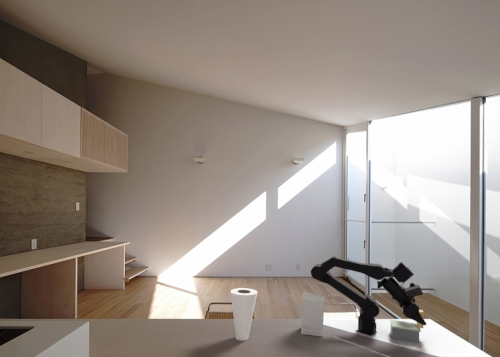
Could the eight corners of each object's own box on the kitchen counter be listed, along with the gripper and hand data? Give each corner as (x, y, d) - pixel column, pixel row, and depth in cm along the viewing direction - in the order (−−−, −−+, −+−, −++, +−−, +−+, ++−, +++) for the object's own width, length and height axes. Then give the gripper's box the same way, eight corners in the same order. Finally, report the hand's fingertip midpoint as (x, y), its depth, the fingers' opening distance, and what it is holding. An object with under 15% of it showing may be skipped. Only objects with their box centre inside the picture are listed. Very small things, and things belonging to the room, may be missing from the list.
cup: (259, 336, 140) (261, 290, 141) (248, 346, 131) (250, 296, 132) (236, 331, 145) (238, 286, 146) (223, 340, 135) (225, 292, 136)
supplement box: (323, 337, 142) (324, 299, 143) (300, 334, 144) (301, 297, 145) (322, 329, 151) (324, 293, 152) (301, 326, 153) (303, 291, 154)
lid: (391, 329, 142) (391, 309, 143) (390, 323, 150) (390, 304, 151) (424, 334, 139) (424, 314, 139) (421, 327, 147) (421, 308, 147)
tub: (391, 339, 142) (392, 327, 143) (390, 333, 150) (390, 321, 150) (419, 344, 139) (419, 331, 139) (416, 336, 147) (416, 324, 147)
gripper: (412, 282, 136) (444, 315, 132) (407, 273, 154) (435, 302, 150) (390, 300, 139) (421, 333, 134) (388, 289, 156) (414, 318, 152)
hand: (423, 321), depth 143 cm, fingers open, 9 cm apart
